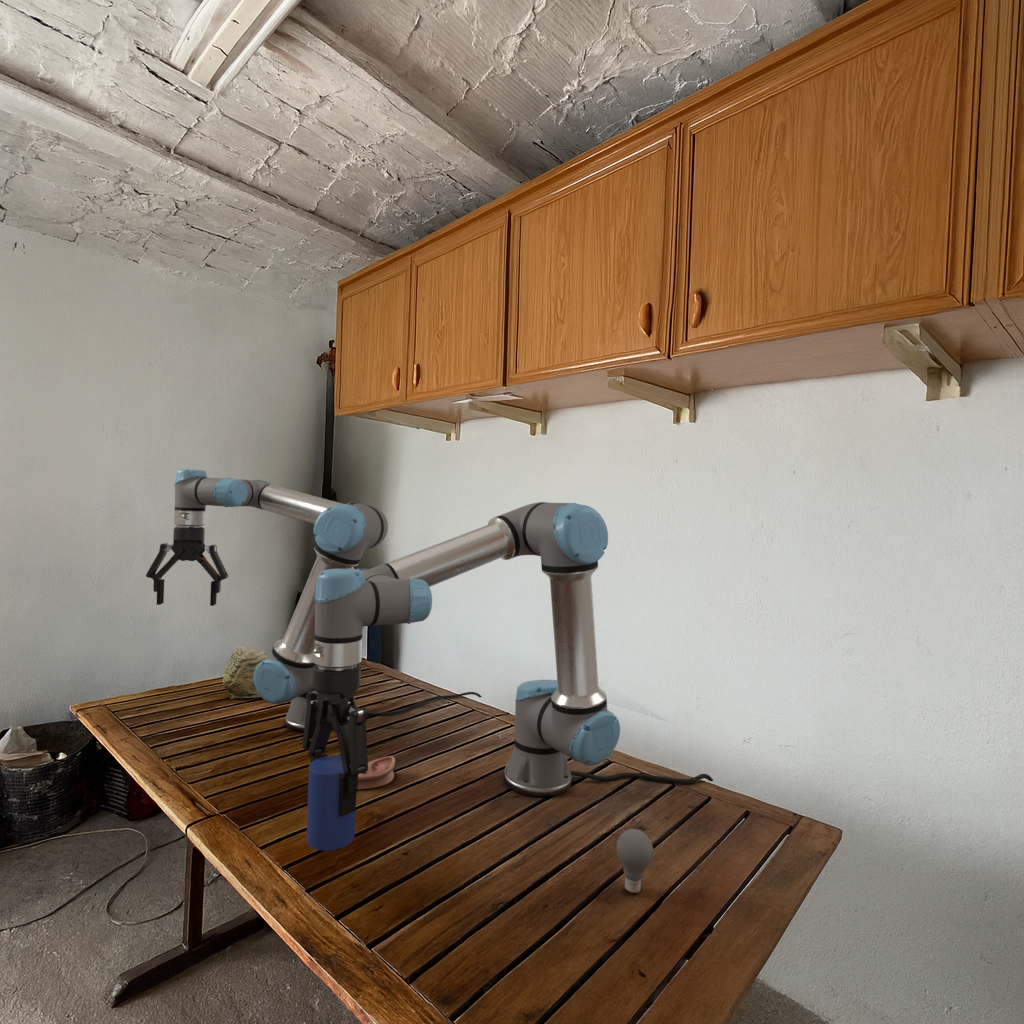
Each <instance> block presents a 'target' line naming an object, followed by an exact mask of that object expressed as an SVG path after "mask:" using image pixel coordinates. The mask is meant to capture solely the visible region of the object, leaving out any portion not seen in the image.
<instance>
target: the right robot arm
mask: <svg viewBox="0 0 1024 1024" xmlns="http://www.w3.org/2000/svg"><path fill="white" fill-rule="evenodd" d="M608 544H609V531H608V527H607V524H606V522H605V519H604V518H603V516H602V515H601V514H600V512H598V511H597V510H596V509H595V508H594V507H591V506H589V505H586V504H580V503H577V502H546V501H539V502H534V503H529V504H525V505H523V506H520V507H517V508H515V509H513V510H511V511H507V512H505V513H503V514H499V515H496V516H494V517H492V518H490V519H489V521H488V523H487V525H484V526H481V527H478V528H475V529H473V530H470V531H468V532H465V533H462V534H459V535H458V536H455V537H452V538H449V539H447V540H444V541H441V542H439V543H438V542H437V543H436V544H433V545H430V546H427V547H425V548H423V549H420V550H417V551H414V552H412V553H409V554H407V555H404V556H401V557H399V558H396V559H394V560H390V561H388V562H386V563H382V564H380V565H377V566H374V567H372V568H369V569H368V568H350V569H328V570H324V571H322V572H320V574H319V575H318V578H317V585H316V595H315V644H314V663H315V664H316V666H315V667H314V668H313V685H312V687H313V689H314V690H315V691H314V692H310V693H307V696H306V697H307V712H306V720H305V728H304V732H303V736H302V737H303V738H302V744H301V745H302V749H303V750H304V751H306V750H307V754H308V755H307V756H308V757H310V760H309V764H310V763H311V762H312V761H314V760H316V759H318V758H321V757H325V756H329V755H328V754H326V753H327V752H329V750H328V748H327V746H328V742H329V740H330V739H329V738H330V735H331V732H332V730H333V732H334V733H336V738H337V743H338V748H339V755H341V760H342V766H343V771H344V773H341V774H340V788H339V816H341V817H342V816H344V815H347V814H349V813H352V812H354V811H356V810H357V793H358V790H359V789H358V774H360V773H363V772H365V771H367V770H368V762H369V760H368V759H369V758H368V742H367V741H368V740H367V739H368V737H367V717H368V715H367V712H368V709H367V707H361V708H360V707H358V706H357V703H356V698H355V693H356V692H357V690H359V688H360V687H361V677H362V675H361V674H362V671H361V670H362V667H361V665H360V664H361V663H362V659H363V657H362V655H363V629H364V628H363V627H373V626H375V627H376V626H387V625H388V626H389V625H403V624H407V625H411V624H413V623H419V622H424V621H425V620H427V619H428V618H429V616H430V614H431V612H432V608H433V594H432V590H431V588H432V587H433V586H435V585H438V584H440V583H443V582H445V581H448V580H451V579H453V578H456V577H458V576H460V575H462V574H465V573H467V572H470V571H473V570H475V569H476V568H480V567H482V566H485V565H487V564H489V563H492V562H495V561H497V560H500V559H501V560H503V561H509V560H512V559H514V558H517V557H521V556H538V557H540V564H541V572H542V573H543V574H545V576H547V577H548V578H549V585H550V587H549V588H550V598H551V599H550V600H551V613H552V626H553V627H552V628H553V629H552V630H553V643H554V656H555V669H556V679H532V680H528V681H527V680H526V681H524V682H522V683H520V684H519V685H518V686H517V689H516V696H515V698H514V699H515V700H514V703H515V711H514V712H515V713H514V714H515V715H514V741H513V748H512V751H511V754H510V756H509V759H508V762H507V764H505V768H504V773H503V774H504V783H505V785H506V786H507V787H508V788H509V789H511V790H512V791H514V792H517V793H519V794H522V795H524V796H528V797H529V796H530V797H536V798H537V797H538V798H539V797H540V798H547V797H548V798H549V797H555V796H558V795H562V794H564V793H566V792H567V791H569V789H571V786H572V776H574V777H580V778H585V779H590V780H594V781H600V782H607V781H615V780H617V779H618V780H619V779H622V778H637V779H645V780H650V781H651V780H652V781H658V782H668V783H675V784H686V785H687V784H693V783H697V782H698V781H700V780H703V779H706V780H707V781H708V782H714V779H713V777H711V776H710V775H709V774H707V773H700V774H698V775H695V776H693V777H692V778H676V777H670V776H669V777H668V776H661V775H653V774H647V773H640V772H619V773H615V774H611V775H596V774H591V773H587V772H582V771H576V770H571V769H570V765H569V762H568V758H571V760H572V761H574V762H577V763H581V764H583V765H585V766H596V765H599V764H601V763H603V762H604V761H606V760H607V759H608V758H609V757H610V756H611V755H612V753H613V751H614V750H615V749H616V747H617V746H618V745H617V744H618V743H619V739H620V734H621V724H620V720H619V718H618V717H617V716H616V715H615V713H613V712H612V711H609V709H608V700H607V699H608V698H607V693H606V691H605V690H604V689H602V688H601V687H600V686H599V685H600V684H599V670H598V657H597V655H598V654H597V641H596V627H595V625H596V624H595V613H594V612H595V611H594V610H595V609H594V595H593V578H592V575H594V574H595V572H596V571H597V570H598V569H599V561H600V559H601V558H602V557H604V555H605V550H607V548H608ZM430 587H431V588H430ZM339 724H340V725H339ZM332 727H333V729H332ZM694 779H695V780H694Z"/></svg>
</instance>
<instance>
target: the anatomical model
mask: <svg viewBox="0 0 1024 1024" xmlns="http://www.w3.org/2000/svg"><path fill="white" fill-rule="evenodd" d="M395 765H396V759H395V757H394V756H392V755H387V756H384V757H380V758H376V759H373V760H370V761H368V770H367V771H365V772H363V773H360V774H358V790H364V789H374V788H377V787H382V786H385V785H388V784H390V783H391V782H392V781H393V779H394V777H395V771H394V768H395Z"/></svg>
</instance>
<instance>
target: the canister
mask: <svg viewBox="0 0 1024 1024" xmlns="http://www.w3.org/2000/svg"><path fill="white" fill-rule="evenodd" d="M341 773H344V771H343V766H342V760H341V755H340V754H333V755H328V756H325V757H321V758H318V759H316V760H314V761H312V762H311V763H310V762H309V765H308V785H307V788H308V789H307V810H306V811H307V814H306V816H307V817H306V844H307V846H308V847H310V848H311V849H313V850H316V851H321V852H323V851H324V852H329V851H336V850H340V849H343V848H346V847H347V846H349V845H350V844H351V843H352V842H353V841H354V839H355V836H356V835H355V834H356V811H354V812H352V813H349V814H347V815H344V816H342V817H341V816H339V788H340V774H341Z"/></svg>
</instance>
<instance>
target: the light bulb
mask: <svg viewBox="0 0 1024 1024" xmlns="http://www.w3.org/2000/svg"><path fill="white" fill-rule="evenodd" d="M615 849H616V854H617V857H618V859H619V861H620V863H621V865H622V867H623V873H624V874H623V875H624V876H625V878H624V888H625V890H627V891H628V892H630V893H634V894H635V893H639V892H640V891H641V889H642V887H641V886H642V879H643V877H644V875H645V871H646V868H647V867H648V866H649V864H650V863H651V861H652V859H653V855H654V847H653V843H652V841H651V838H649V836H648V835H647V834H646V833H645V832H643V831H642V830H641V829H636V828H629V829H627V830H625V831H623V832H622V833H621V834H620V835H619V837H618V839H617V841H616V847H615Z"/></svg>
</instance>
